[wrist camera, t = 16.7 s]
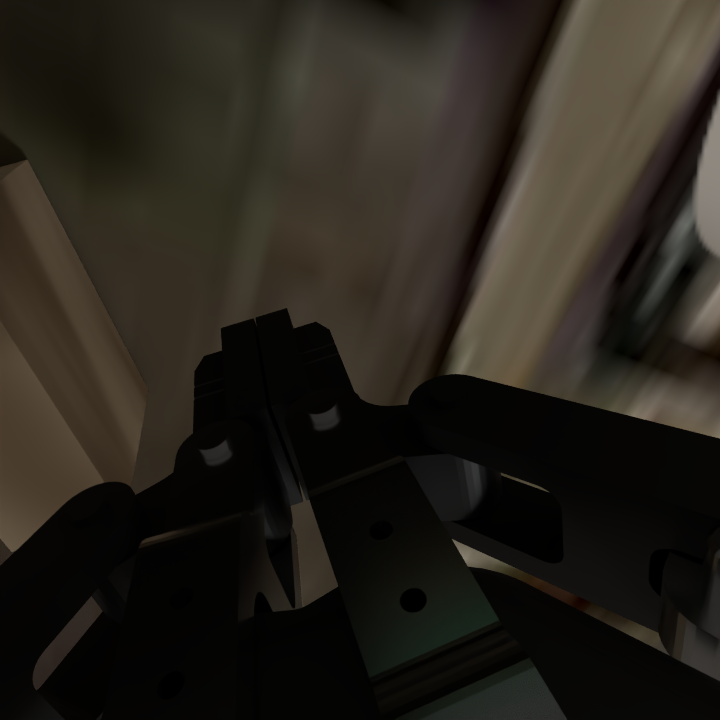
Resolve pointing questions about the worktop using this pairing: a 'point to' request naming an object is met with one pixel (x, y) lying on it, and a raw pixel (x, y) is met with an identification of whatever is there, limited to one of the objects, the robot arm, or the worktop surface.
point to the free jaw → (56, 368)
